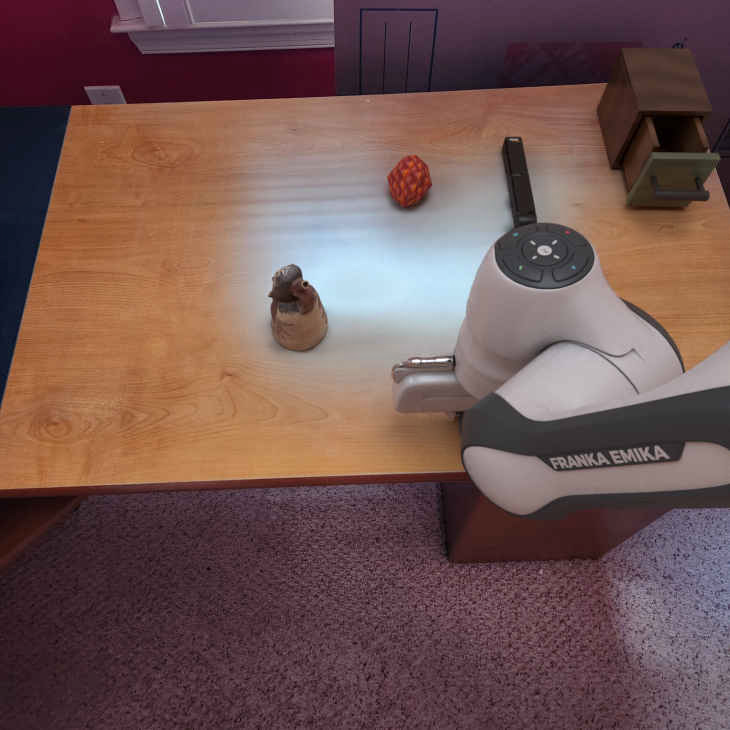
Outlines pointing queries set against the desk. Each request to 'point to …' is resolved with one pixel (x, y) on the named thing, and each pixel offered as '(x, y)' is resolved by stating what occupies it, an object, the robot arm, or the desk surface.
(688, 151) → the drawer
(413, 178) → the decorative stone
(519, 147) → the black stapler
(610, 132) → the cabinet
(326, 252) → the desk surface
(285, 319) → the figurine
